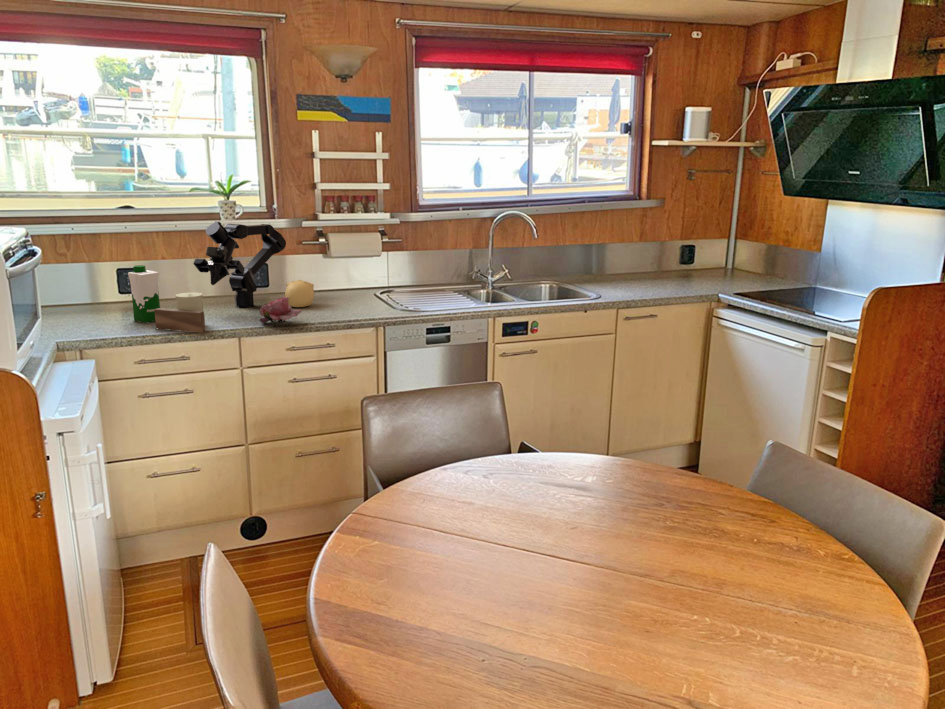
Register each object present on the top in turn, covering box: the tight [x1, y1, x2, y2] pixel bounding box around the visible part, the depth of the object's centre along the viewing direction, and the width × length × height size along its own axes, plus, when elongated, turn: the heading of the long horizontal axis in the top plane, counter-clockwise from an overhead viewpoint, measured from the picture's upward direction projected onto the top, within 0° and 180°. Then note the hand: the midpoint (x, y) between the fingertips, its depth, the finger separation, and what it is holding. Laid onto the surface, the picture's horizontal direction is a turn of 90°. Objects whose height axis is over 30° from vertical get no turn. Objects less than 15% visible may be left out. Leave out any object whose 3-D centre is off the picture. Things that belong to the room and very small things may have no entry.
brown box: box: [154, 307, 206, 333], centre depth 270 cm, size 3×18×7 cm, turn 76°
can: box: [175, 291, 204, 311], centre depth 275 cm, size 9×9×12 cm
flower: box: [259, 296, 302, 327], centre depth 280 cm, size 15×15×10 cm
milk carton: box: [127, 264, 161, 324], centre depth 282 cm, size 9×9×20 cm
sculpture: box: [284, 279, 315, 308], centre depth 312 cm, size 12×12×11 cm
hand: (212, 284), depth 289 cm, fingers closed
